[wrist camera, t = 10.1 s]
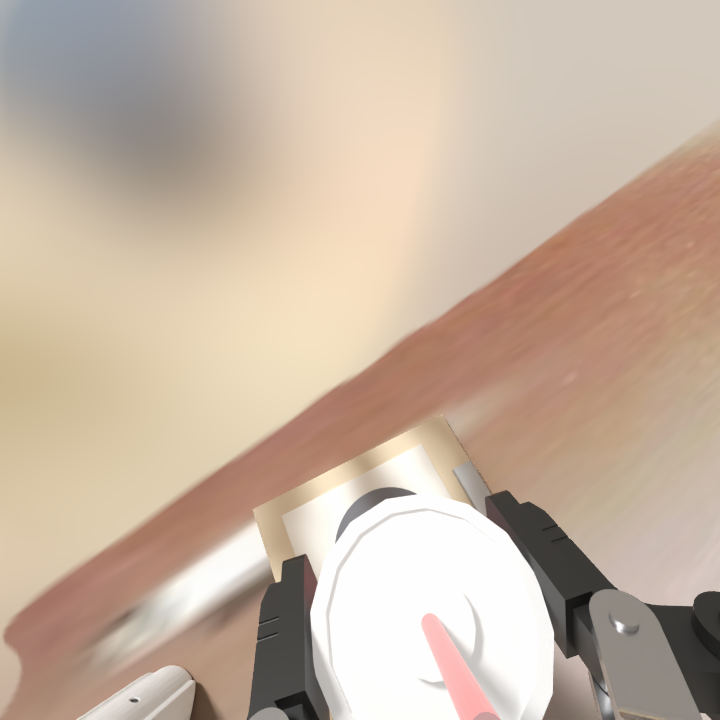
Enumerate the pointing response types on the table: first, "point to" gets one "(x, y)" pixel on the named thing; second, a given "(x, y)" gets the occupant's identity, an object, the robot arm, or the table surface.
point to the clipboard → (367, 492)
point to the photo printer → (150, 698)
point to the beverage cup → (430, 618)
